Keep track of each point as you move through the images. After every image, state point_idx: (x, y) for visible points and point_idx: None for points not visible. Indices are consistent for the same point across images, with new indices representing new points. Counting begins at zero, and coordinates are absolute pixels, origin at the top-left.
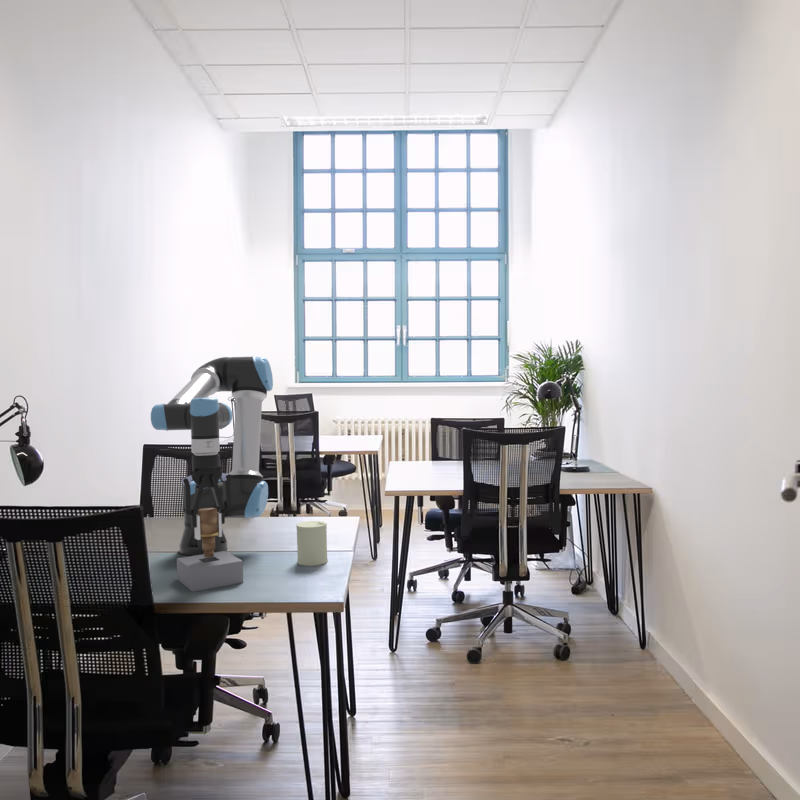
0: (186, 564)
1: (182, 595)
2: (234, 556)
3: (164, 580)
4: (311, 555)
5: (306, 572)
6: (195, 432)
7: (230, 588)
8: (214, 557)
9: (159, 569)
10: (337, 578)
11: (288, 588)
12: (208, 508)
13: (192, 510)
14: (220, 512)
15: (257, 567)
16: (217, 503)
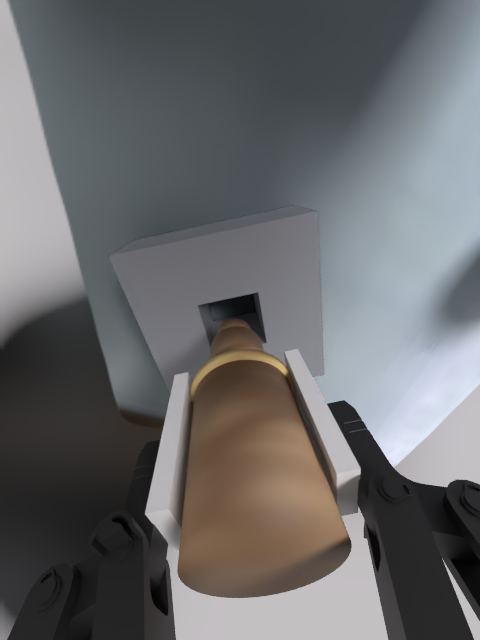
0: (156, 355)
1: (160, 380)
2: (320, 318)
3: (91, 229)
4: None
5: (461, 316)
6: None
7: None
8: (257, 291)
9: (23, 4)
10: (473, 378)
11: (365, 403)
12: (285, 537)
13: (119, 585)
14: (360, 507)
15: (394, 203)
16: (390, 622)
